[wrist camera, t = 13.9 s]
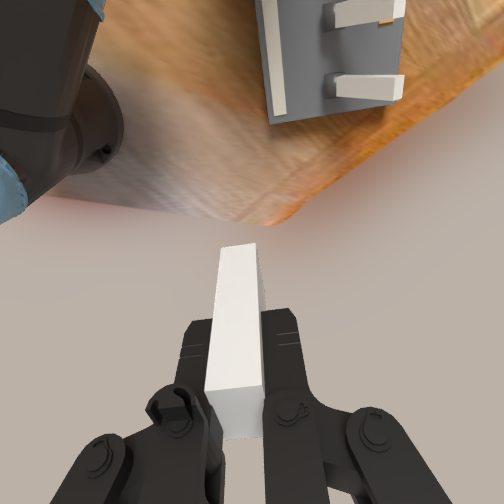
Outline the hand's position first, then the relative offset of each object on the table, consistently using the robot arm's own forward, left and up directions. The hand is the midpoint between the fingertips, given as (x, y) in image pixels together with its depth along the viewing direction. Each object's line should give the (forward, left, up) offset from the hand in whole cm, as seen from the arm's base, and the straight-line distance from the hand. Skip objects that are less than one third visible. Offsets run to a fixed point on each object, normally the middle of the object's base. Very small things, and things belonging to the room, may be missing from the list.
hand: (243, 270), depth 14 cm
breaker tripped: (+10, +9, -31) cm, 34 cm away
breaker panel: (+11, +9, -34) cm, 37 cm away
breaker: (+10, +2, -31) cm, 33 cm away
